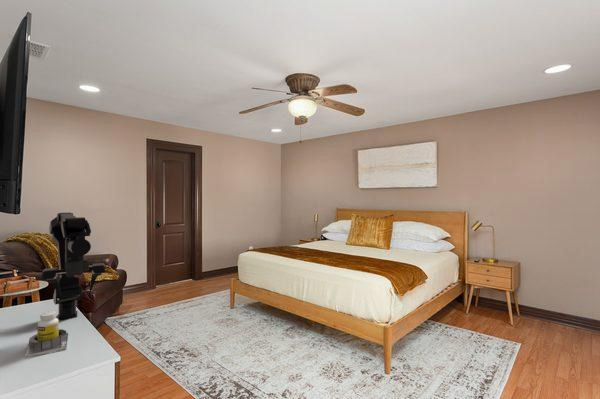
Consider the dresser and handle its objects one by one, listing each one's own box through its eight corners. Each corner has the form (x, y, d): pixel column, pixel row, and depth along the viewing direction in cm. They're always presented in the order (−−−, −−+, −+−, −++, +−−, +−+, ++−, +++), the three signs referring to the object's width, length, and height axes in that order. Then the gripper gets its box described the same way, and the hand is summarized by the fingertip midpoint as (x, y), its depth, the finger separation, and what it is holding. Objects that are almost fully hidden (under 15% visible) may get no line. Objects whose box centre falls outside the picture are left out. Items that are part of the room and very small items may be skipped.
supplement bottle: (34, 348, 100) (34, 317, 100) (42, 340, 105) (41, 311, 105) (54, 345, 102) (54, 315, 102) (61, 338, 107) (61, 309, 107)
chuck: (30, 342, 106) (30, 332, 106) (68, 335, 112) (68, 325, 111) (25, 358, 96) (25, 347, 96) (66, 349, 102) (66, 338, 101)
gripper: (39, 258, 105) (40, 305, 105) (105, 252, 116) (106, 295, 116) (43, 252, 114) (43, 296, 115) (104, 248, 125) (104, 287, 125)
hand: (75, 294), depth 117 cm, fingers open, 9 cm apart
